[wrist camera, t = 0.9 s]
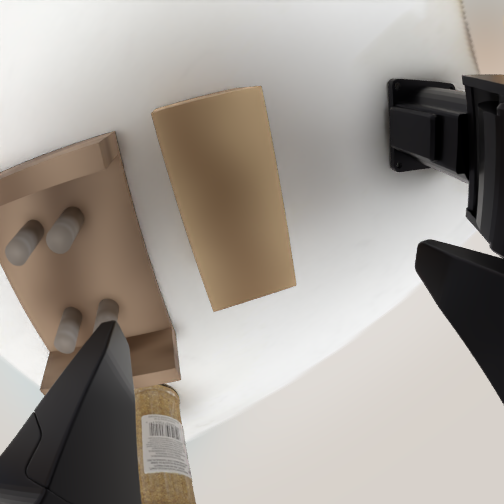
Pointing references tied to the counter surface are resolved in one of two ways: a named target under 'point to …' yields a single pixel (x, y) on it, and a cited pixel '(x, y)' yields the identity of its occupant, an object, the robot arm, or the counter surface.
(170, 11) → the counter surface
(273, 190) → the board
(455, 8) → the counter surface
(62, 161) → the peg cradle
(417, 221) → the counter surface
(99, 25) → the counter surface
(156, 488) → the sprinkles bottle
